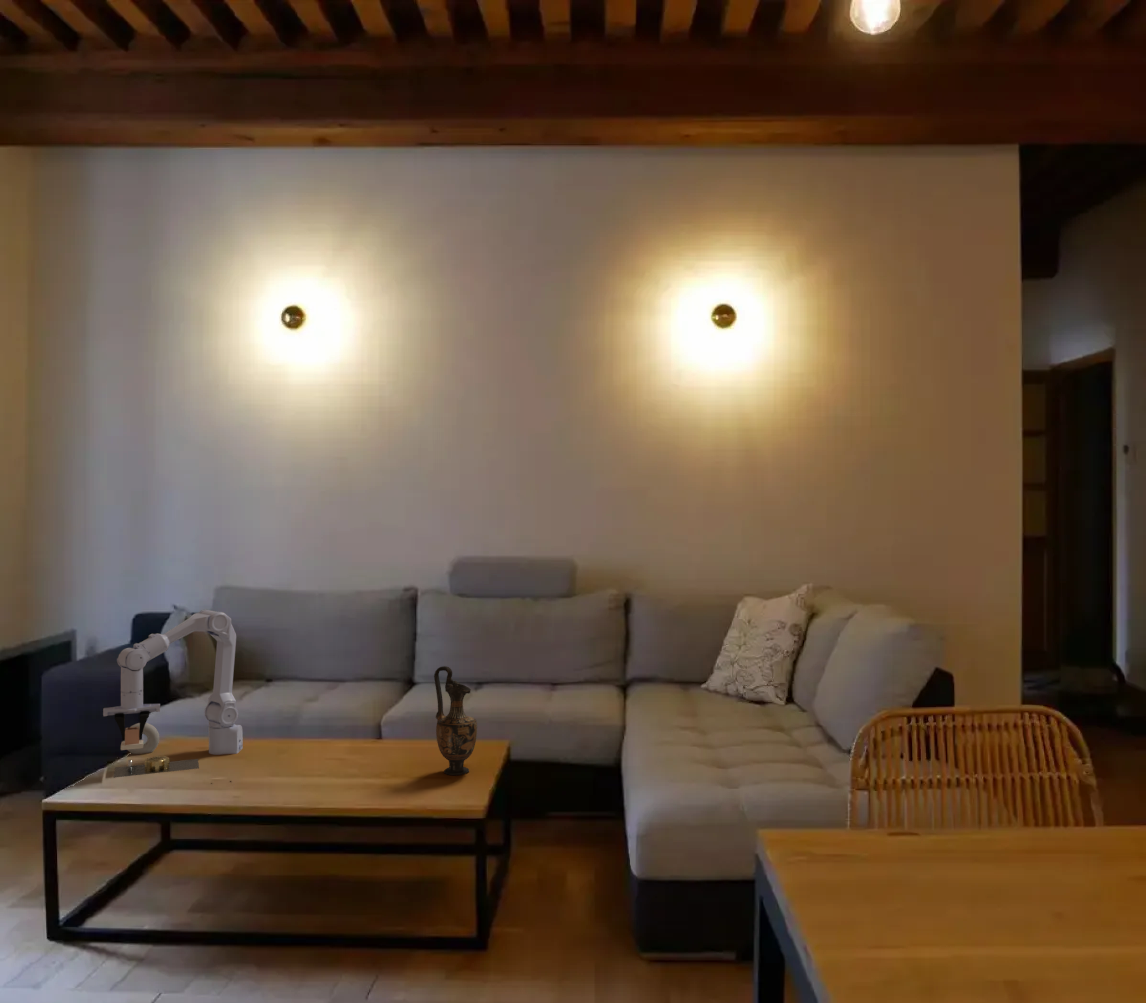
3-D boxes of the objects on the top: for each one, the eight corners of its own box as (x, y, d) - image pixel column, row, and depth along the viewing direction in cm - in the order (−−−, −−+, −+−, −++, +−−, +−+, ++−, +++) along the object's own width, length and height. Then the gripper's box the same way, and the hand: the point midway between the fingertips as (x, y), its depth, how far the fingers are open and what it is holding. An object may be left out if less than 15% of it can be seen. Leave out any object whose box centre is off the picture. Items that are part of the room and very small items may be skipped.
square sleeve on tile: (143, 744, 271) (143, 725, 271) (142, 748, 266) (142, 729, 266) (121, 745, 269) (121, 727, 269) (120, 750, 264) (120, 731, 264)
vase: (469, 778, 264) (469, 671, 263) (427, 776, 266) (427, 669, 266) (482, 766, 275) (482, 664, 275) (441, 764, 278) (441, 662, 277)
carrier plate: (197, 762, 279) (197, 748, 279) (199, 771, 270) (199, 757, 270) (115, 771, 270) (115, 757, 270) (113, 781, 261) (113, 766, 261)
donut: (122, 758, 283) (122, 724, 283) (125, 754, 287) (125, 722, 286) (158, 756, 285) (158, 723, 285) (160, 753, 289) (160, 720, 289)
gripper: (102, 696, 261) (102, 745, 261) (160, 691, 266) (160, 739, 267) (104, 691, 267) (104, 738, 267) (160, 686, 273) (160, 733, 273)
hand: (132, 739), depth 267 cm, fingers closed on square sleeve on tile, 4 cm apart
